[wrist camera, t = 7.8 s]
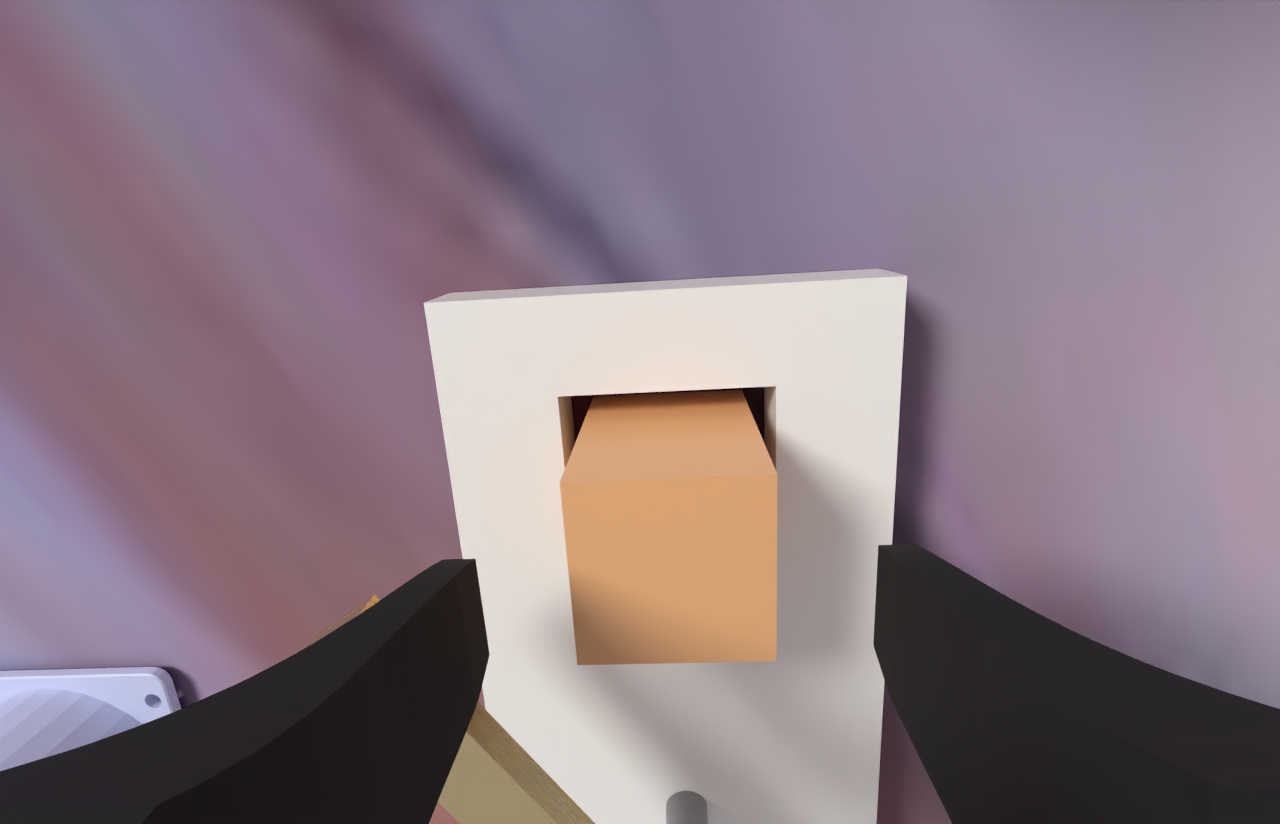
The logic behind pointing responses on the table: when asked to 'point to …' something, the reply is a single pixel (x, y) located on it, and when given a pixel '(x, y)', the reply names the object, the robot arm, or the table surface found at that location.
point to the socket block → (806, 535)
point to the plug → (671, 531)
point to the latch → (495, 774)
